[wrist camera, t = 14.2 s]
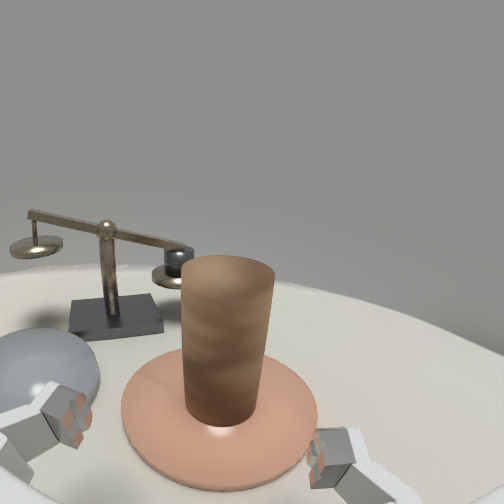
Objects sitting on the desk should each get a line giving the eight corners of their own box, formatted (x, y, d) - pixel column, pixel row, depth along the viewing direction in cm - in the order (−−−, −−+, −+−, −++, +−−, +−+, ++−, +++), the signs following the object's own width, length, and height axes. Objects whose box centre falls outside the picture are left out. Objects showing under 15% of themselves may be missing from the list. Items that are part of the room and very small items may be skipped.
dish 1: (-46, 392, 10) (-52, 382, 10) (25, 326, 23) (23, 317, 22) (55, 463, 10) (48, 454, 10) (122, 355, 23) (120, 345, 22)
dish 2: (96, 461, 12) (90, 452, 11) (155, 346, 25) (154, 335, 25) (325, 493, 12) (331, 485, 11) (302, 362, 25) (305, 352, 25)
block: (178, 420, 16) (169, 282, 13) (192, 374, 21) (193, 251, 18) (255, 430, 16) (277, 294, 13) (256, 382, 21) (273, 259, 18)
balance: (22, 345, 20) (-4, 218, 16) (32, 312, 26) (17, 205, 22) (214, 324, 30) (221, 208, 27) (193, 297, 36) (197, 198, 33)
